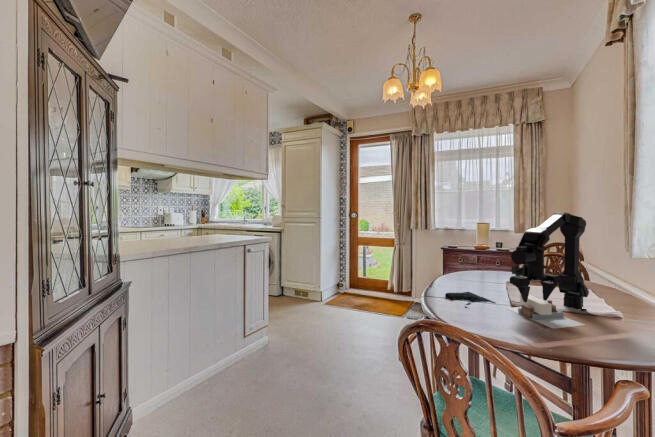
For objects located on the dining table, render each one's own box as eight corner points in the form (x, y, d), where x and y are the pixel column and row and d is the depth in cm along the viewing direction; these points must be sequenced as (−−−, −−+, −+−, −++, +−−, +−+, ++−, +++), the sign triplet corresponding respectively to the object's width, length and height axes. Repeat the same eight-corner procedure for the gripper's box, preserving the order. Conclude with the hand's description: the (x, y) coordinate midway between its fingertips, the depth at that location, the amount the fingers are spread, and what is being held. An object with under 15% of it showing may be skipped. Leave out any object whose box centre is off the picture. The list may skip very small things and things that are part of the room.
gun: (479, 316, 126) (506, 311, 131) (479, 309, 126) (506, 305, 130) (441, 298, 148) (465, 294, 153) (441, 292, 148) (465, 289, 153)
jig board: (533, 308, 130) (533, 301, 130) (585, 328, 108) (585, 319, 108) (505, 310, 128) (505, 303, 128) (553, 331, 106) (553, 323, 106)
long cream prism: (529, 304, 125) (529, 294, 124) (551, 314, 113) (551, 304, 112) (520, 304, 124) (520, 295, 124) (541, 314, 112) (541, 304, 112)
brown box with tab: (546, 312, 122) (546, 298, 122) (555, 315, 118) (556, 301, 118) (521, 314, 120) (521, 301, 120) (529, 318, 116) (529, 304, 116)
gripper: (537, 257, 127) (537, 293, 128) (499, 260, 124) (499, 297, 125) (562, 262, 116) (562, 301, 117) (521, 265, 113) (520, 305, 114)
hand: (535, 301), depth 118 cm, fingers open, 9 cm apart
